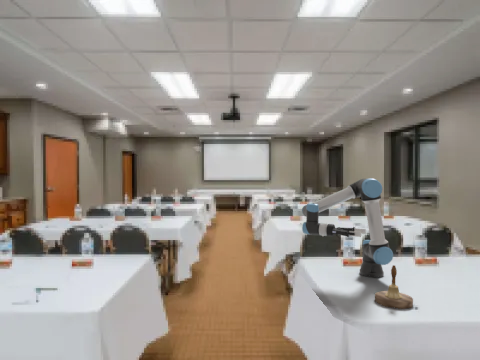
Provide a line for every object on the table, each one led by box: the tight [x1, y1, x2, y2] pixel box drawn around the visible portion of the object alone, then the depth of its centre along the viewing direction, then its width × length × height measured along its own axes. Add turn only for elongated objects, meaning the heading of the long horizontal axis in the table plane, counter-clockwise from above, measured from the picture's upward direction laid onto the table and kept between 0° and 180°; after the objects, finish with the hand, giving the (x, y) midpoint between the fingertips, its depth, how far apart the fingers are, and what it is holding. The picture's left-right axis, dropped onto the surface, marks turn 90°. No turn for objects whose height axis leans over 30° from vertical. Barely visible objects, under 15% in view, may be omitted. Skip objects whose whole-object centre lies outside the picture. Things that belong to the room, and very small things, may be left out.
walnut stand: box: [374, 290, 414, 310], centre depth 180 cm, size 18×18×3 cm
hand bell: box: [385, 265, 402, 299], centre depth 180 cm, size 8×8×16 cm
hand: (363, 232), depth 205 cm, fingers open, 13 cm apart
